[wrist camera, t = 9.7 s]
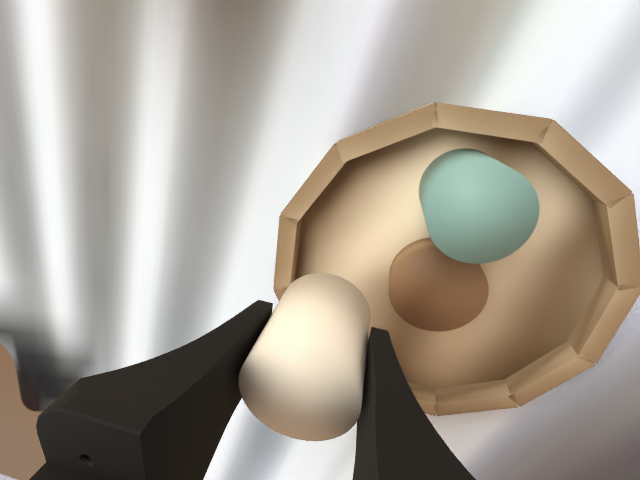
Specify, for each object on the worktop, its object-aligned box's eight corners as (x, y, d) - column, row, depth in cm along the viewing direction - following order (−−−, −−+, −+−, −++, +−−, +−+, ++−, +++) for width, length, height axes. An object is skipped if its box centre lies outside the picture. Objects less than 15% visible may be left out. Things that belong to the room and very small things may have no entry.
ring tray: (695, 139, 15) (742, 145, 13) (534, 419, 22) (548, 451, 20) (301, 83, 17) (288, 81, 15) (274, 352, 24) (264, 375, 22)
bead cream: (379, 284, 14) (372, 363, 9) (361, 359, 15) (350, 454, 11) (284, 264, 14) (240, 330, 10) (277, 338, 16) (237, 421, 12)
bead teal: (515, 155, 16) (557, 173, 12) (488, 232, 17) (516, 272, 13) (429, 142, 16) (441, 156, 12) (410, 218, 18) (415, 253, 14)
